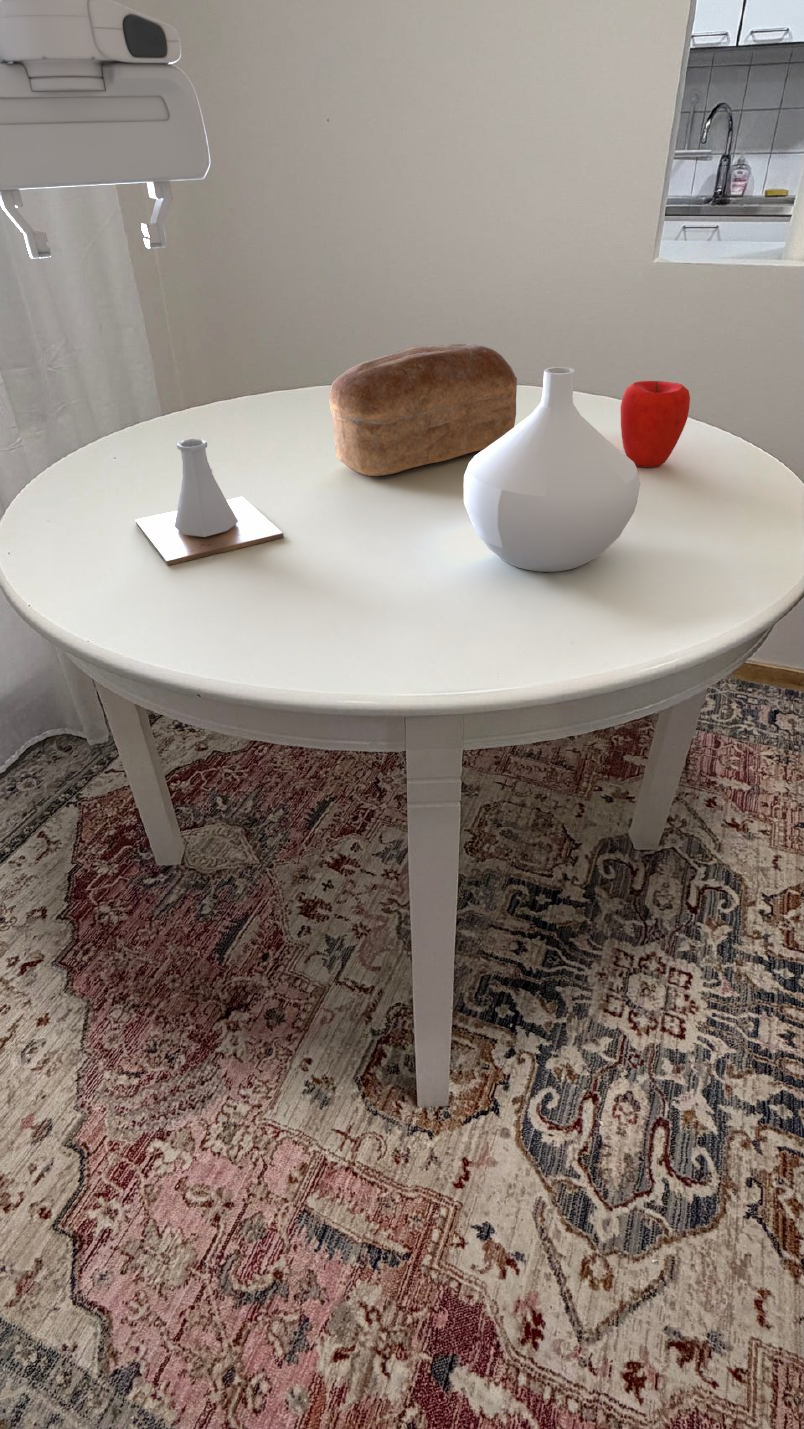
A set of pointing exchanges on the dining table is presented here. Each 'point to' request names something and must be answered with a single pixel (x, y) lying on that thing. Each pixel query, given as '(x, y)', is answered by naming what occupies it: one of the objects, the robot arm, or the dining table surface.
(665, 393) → the apple
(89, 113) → the robot arm
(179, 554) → the coaster
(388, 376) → the bread
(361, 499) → the dining table surface
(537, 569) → the vase
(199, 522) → the flask
